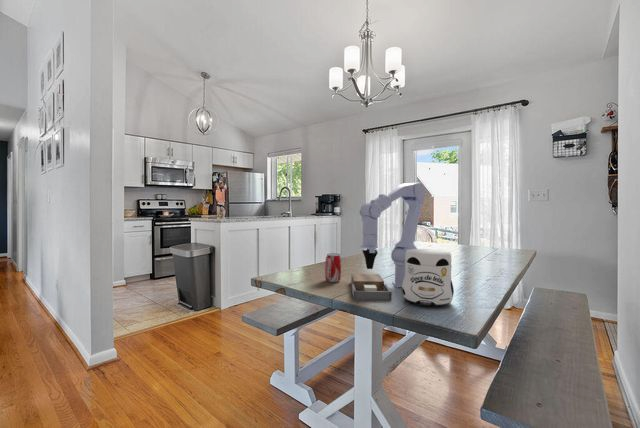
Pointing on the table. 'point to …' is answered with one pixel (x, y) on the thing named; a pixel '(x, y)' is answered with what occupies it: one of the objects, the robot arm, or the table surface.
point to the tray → (372, 294)
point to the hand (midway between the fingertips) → (369, 268)
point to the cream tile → (370, 288)
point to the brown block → (367, 281)
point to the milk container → (428, 277)
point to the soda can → (333, 267)
